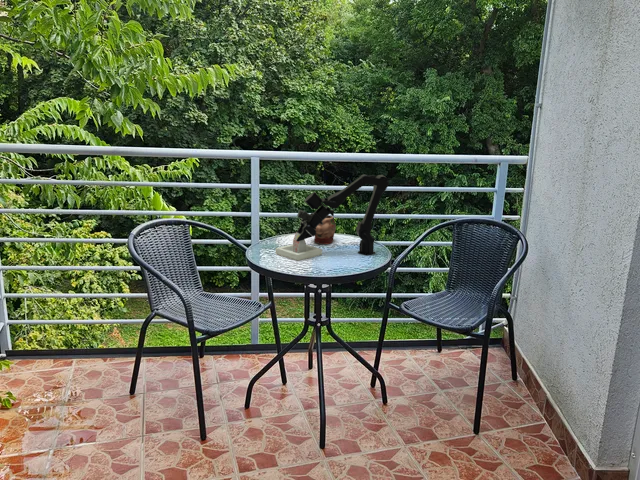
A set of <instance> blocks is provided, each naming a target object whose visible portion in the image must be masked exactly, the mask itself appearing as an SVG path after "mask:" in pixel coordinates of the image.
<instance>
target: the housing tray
mask: <svg viewBox="0 0 640 480" xmlns="http://www.w3.org/2000/svg"><path fill="white" fill-rule="evenodd" d="M275 255H277V256H281V257H284V258H287V259H290V260H292V261H296V262H299V261H300V262H301V261H304V260H308V259H311V258H317V257H319V256H322V255H323V249H322V248H320V247H316V246H313V245H311V244H306V252H302V253H295V252H293V243H292V244H288V245H284V246H279V247H276V248H275Z"/></svg>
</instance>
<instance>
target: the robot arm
mask: <svg viewBox="0 0 640 480" xmlns="http://www.w3.org/2000/svg"><path fill="white" fill-rule="evenodd" d="M389 184H390V180H389V178H387V177H386V176H385V175H384V174H378V175H370V174H369V175H368V174H361V175H360V176H359V177H357V179H355V180H353V182H350V184H349V185H347V186H346V187H344V188H343V189H341V190H339V191H336V192H334V193H333V194H331V195H329V196H328V197H322V198H321V197H320V196H319V195H318V194H317V192H316V191H313V192H312V193H310V194H308V196H306V198H305V199H304V201H303V202H304V203H305V204H306V205H307V206H308V207H309V208H310V209H311V210H315V211H314V212H311V213H309V212H307V211H304V210H302V209H299V211H298V213H297V218H299V219H300V221H299V222H300V224H299V228H298V229H297V231H296V232H297V233H299V234H300V236H299V237H298V238H297V240H296V241H297V242H299V241H301V240H307V239H309V238H312V237H313V238H315V235H316V230H315V229H316V227H317V226H318V225H319V224H321V223H322V221H323V220H324V219H325V218H326V217H327V216H333V217H334V215H335V210H336V209H338V208H339V207H340V206H342V204H343V203H344V202H345V200H346V199H347V198H349V197H350V196H352V194H354V193H355V192H357V191H358V190H359V189H361V188H362V187H363V186H365V185H372V187H373V190H372V194H371V196H370V200H369V203H368V206H367V209H366V211H365V214H364V217H363V219H362V220H361V221H357V226H356V227H355V230H356V231H355V232H356V235H357V236H358V237H359V238H360V240H359V246H358V247H359V248H358V249H359V251H357V253H358V254H361V255H365V256H370V255H372V254H373V255H374V254H376V251H374V246H375V245H374V243H375V240H376V238H374V237H373V235H372V234H371V232H372V223H373V220H374V217H375V214H376V212H377V208H378V206H379V205H380V200H381V197H382V196H383V194H384V193H385V192H386V190H387V188H388V186H389Z"/></svg>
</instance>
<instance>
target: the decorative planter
mask: <svg viewBox="0 0 640 480" xmlns="http://www.w3.org/2000/svg"><path fill="white" fill-rule="evenodd" d="M336 229H337V224H336V221H335V219H334V216H332V215H328V216H327V217H326V218H325V219H324V220H323V221H322V223H321V224H319V225H318V226H317V227H316V229H315V230H316V235H315V236H314V239H313V241H314V243H316V244H321V245H329V244H332V243H333V241H334V237H335V232H336Z"/></svg>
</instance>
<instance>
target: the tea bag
mask: <svg viewBox="0 0 640 480" xmlns="http://www.w3.org/2000/svg"><path fill="white" fill-rule="evenodd" d="M299 236H300V234H299V233H297V231H296V232H295V234H294V237H293V240H292V244H293V252H295V253H302V252H306V245H307V242H306V239H304V240H301V241H299V242H297V241H296V240H297V238H298V237H299Z"/></svg>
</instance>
